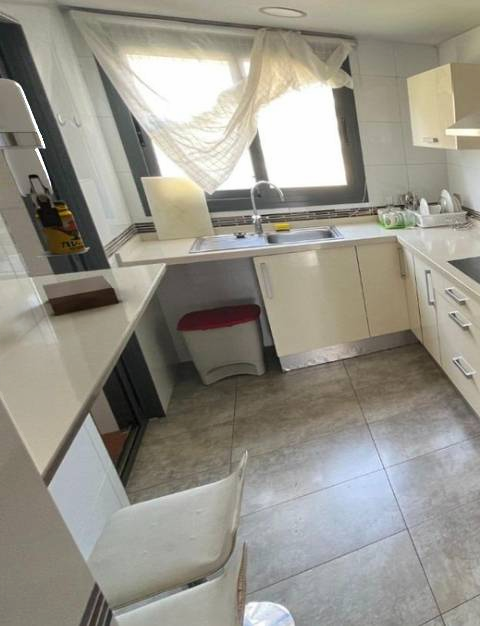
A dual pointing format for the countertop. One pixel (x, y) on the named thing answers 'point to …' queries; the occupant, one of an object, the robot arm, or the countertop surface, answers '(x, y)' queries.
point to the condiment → (61, 234)
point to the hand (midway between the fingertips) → (51, 224)
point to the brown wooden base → (80, 294)
